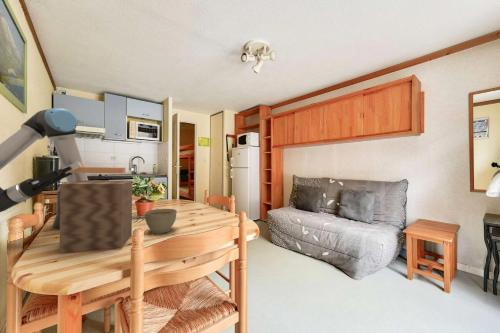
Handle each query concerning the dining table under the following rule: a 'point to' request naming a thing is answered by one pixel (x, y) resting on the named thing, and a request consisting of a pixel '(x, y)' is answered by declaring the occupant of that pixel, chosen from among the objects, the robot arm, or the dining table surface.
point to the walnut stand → (95, 215)
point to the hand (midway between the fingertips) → (81, 164)
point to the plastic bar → (98, 170)
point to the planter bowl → (160, 220)
